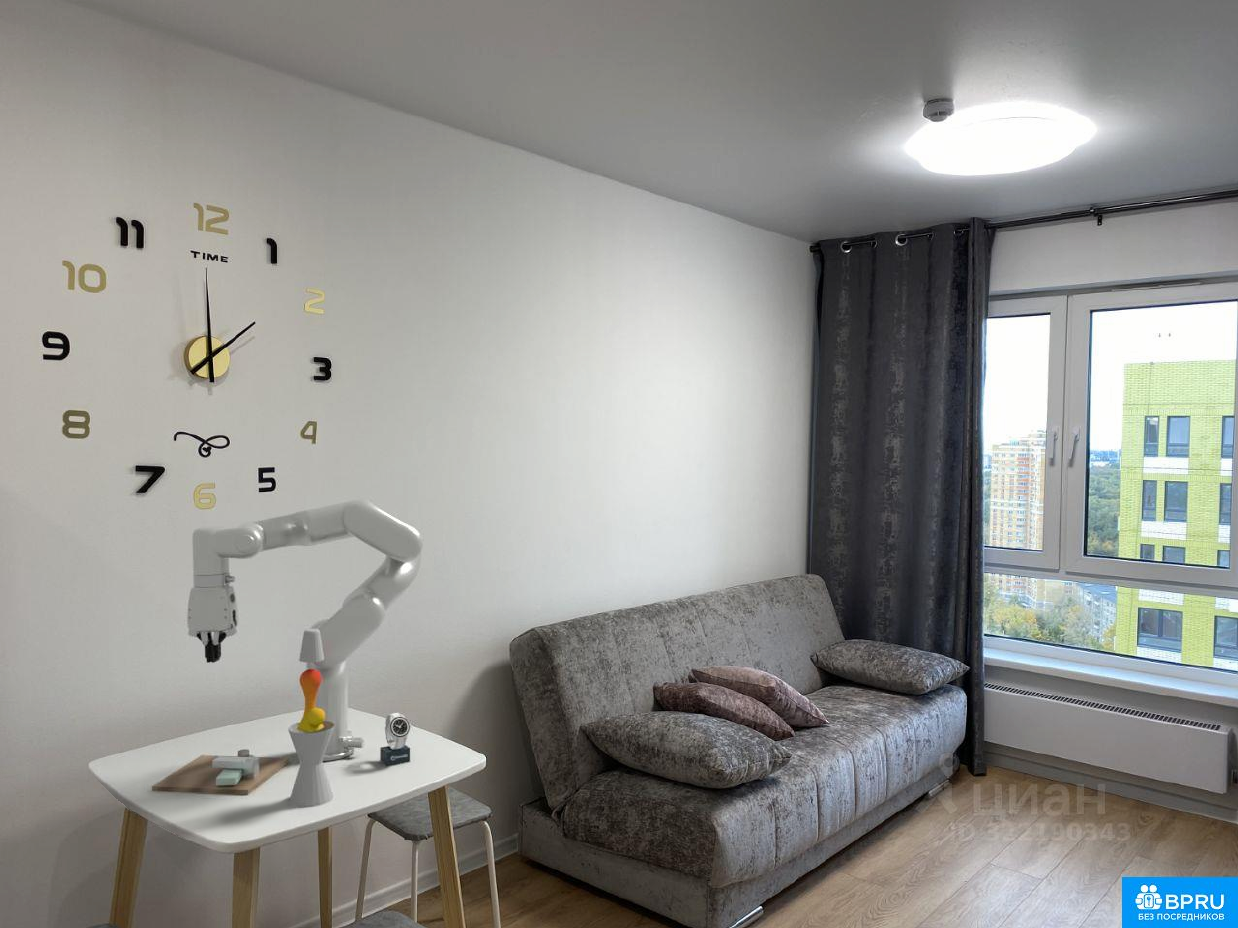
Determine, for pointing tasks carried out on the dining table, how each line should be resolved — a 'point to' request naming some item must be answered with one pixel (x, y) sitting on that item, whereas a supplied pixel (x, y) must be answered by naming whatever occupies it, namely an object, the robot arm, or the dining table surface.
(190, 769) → the board
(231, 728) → the dining table surface
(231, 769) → the link
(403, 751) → the watch
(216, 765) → the keeper
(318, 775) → the lava lamp
